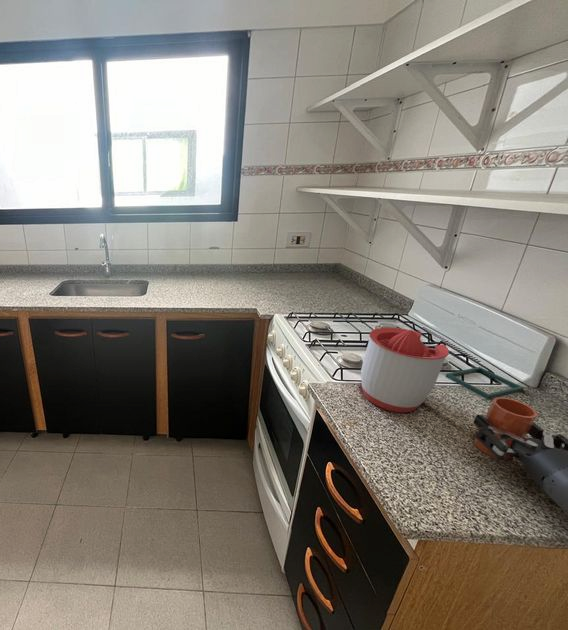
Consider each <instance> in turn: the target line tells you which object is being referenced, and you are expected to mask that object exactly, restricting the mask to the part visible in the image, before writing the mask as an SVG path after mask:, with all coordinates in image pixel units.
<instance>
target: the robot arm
mask: <svg viewBox="0 0 568 630" xmlns="http://www.w3.org/2000/svg"><path fill="white" fill-rule="evenodd" d="M473 424H474V425H475V426H476V428H478V431H477V433H476V435H475V437H476V438H477V439H478V440H479V441H480V442H481V443H482V444H483V445H484V446H485V447H486V448H487V449H488V450H489V451H490V452H491V453H492V454H493V455H494V456H496V457H497V458H496V459H498V458H499V459H498V460H502V459H503V458H504V456H512V457H514V458H513V459H515V460H517V461H518V462H520V463H521V465H522V466H523V469H524V473H526V474H527V476H528V477H529V478H530V479H531V480H532V481H533V482H534V483H535V484H536V485H537V486H538V487H539V488H540V489H541V490H542V491H543V492H544V493H546V495H547V496H548V497H549V498H550V499H551V500H552V501H553V502H554V503H555V504H556V505H557V506H559V507H560V509H562V510H563V511H564V512H565V513H567V514H568V438H567V437H566V436H565V435H562V434H559V433H557V434H556V435H554V434H552V433H551V432H550V431H548V430H544V429H543V428H542V427H541V426H540V425H538V424H537V423H535V422H534V423H533V424H532V426H531V428H530V430H529V431H528V433H527V435H530V436H531V437H525V438H524V437H519V436H517V435H515V434H513V433H511V432H508V431H506V432H503V431H501V430H499V429H497V428H495V427H494V426H493V425H492V424H491V423H490V422H489V421H488V420H487V419H486V418H485V416H484V415H483V414H476V416H475V418H474V419H473ZM494 433H496V434H498V435H500V436H501V438H500V439H498V438H497V437H496V436H494ZM486 438H487V439H486ZM508 438H511V439H513V441H512V443H511V447H510V446H508V445H507V444H506V441H507V440H508ZM563 445H564V446H563Z"/></svg>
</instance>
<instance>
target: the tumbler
mask: <svg viewBox="0 0 568 630" xmlns="http://www.w3.org/2000/svg"><path fill="white" fill-rule="evenodd" d="M484 417H485V418H486V419H487V420H488V421H489V422H490V423H491V424H492V425H493V426H494V427H495V428H497V429H499V430H501V431H503V432H506V431H508V432H511V433H513V434H515V435H517V436H519V437H524V438H527V435H528V431H529V430H530V428H531V426H532V424H533V423H535V421H536V419H537V417H538V412H537V411H536V409H534V408H533V407H532V406H529V405H528V404H526V403H524V402H521V401H520V400H517V399H513V398H509V397H503V396H499V397H495V398H493V400H492V402H491V404H490V406H489V408H488V410H487V412H486V414H485V416H484ZM494 436H496V437H497V438H498V439H500V438H501V436H500V435H498V434H496V433H494ZM486 439H487V438H486ZM512 441H513V439H511V438H508V440H507V441H506V444H507V445H508V446H510V447H511V443H512ZM473 444H474V446H476V448H477V449H479V450H480V451H481V452H483V453H484V454H486V455H488V456H490V457H492V458H495V459H498V460H500V459H499V458H497V457H496V456H494V455H493V454H492V453H491V452H490V451H489V450H488V449H487V448H486V447H485V446H484V445H483V444H482V443H481V442H480V441H479V440H478V439H477V438H476V436H475V437H474V439H473ZM513 459H515V458H514V457H512V456H504V458H503V459H501V460H502V461H511V460H513Z"/></svg>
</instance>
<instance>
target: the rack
mask: <svg viewBox="0 0 568 630" xmlns="http://www.w3.org/2000/svg"><path fill="white" fill-rule="evenodd" d="M478 372H479V373H481V374H483V375H484V376H485V375H486V376H487V377H490V378H491V379H494V380H496V381H498V382H500V383H502V384H505V385H507V386H508V387H510V388H507V389H503V390H498V391H494V392H490V393H488V392H485V391H483V390H482V389H480V388H478V387H476V386H474V385H472V384H470V383H468V382H467V381H464V380H462V378H461V379H460V378H459V377H460V376H464V375H469V374H475V373H478ZM445 378H446V379H448V380H450V381H453V382H454V383H457V384H458V385H460V386H461V387H464V388H466V389H467V390H469V391H471V392H473V393H475V394H477V395H479V396H481V397H483V398H484V399H486V400H491V399H494V398H498V397H503V396H508V395H512V394H515V393H519V392H523V391H524V389H525V387H524V386H521V385H520V384H517V383H515V382H513V381H511V380H508V379H507V378H504V377H502V376H500V375H498V374H495V373H494V372H492V371H489V370H488V369H485V368H483V367H481V366H477V367H472V368H467V369H463V370H458V371H452V372H448V373H446V374H445Z"/></svg>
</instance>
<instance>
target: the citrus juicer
mask: <svg viewBox="0 0 568 630" xmlns="http://www.w3.org/2000/svg"><path fill="white" fill-rule="evenodd" d="M422 335H423V334H422V332H419V331H415V330H413V329H406V328H400V327H377V328H375V329H372V330H371V331H369V339H368V343H367V346H366V350H365V353H364V357H363V360H362V365H361V369H360V370H361V372H360V378H361V379H360V380H361V383H360V385H361V391H362V394H363V396H364V397H365V398H366V399H367V400H368V401H369V402H371V404H373V405H375V406H377V407H379V408H382V409H384V410H386V411H388V412H394V413H403V414H404V413H410V412H413V411H415V410H416V409H418V408H419V407H420V406H422V404H423V402H425V400H426V399H427V398H428V397H429V395H430V394H431V392H433V390H434V387H435V385H436V383H437V381H438V377H439V375H440V373H441V370H442V367H443V365H444V363H445V360H446V357H448V356H449V354H450V349H449V348H448V347H447V346H446V345H445V344H444V343H442V344H438V345H435V346H434V348H429V347H428V346H426V345H425V344H423V342H422V340H421V339H422V338H421V337H422Z"/></svg>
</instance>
